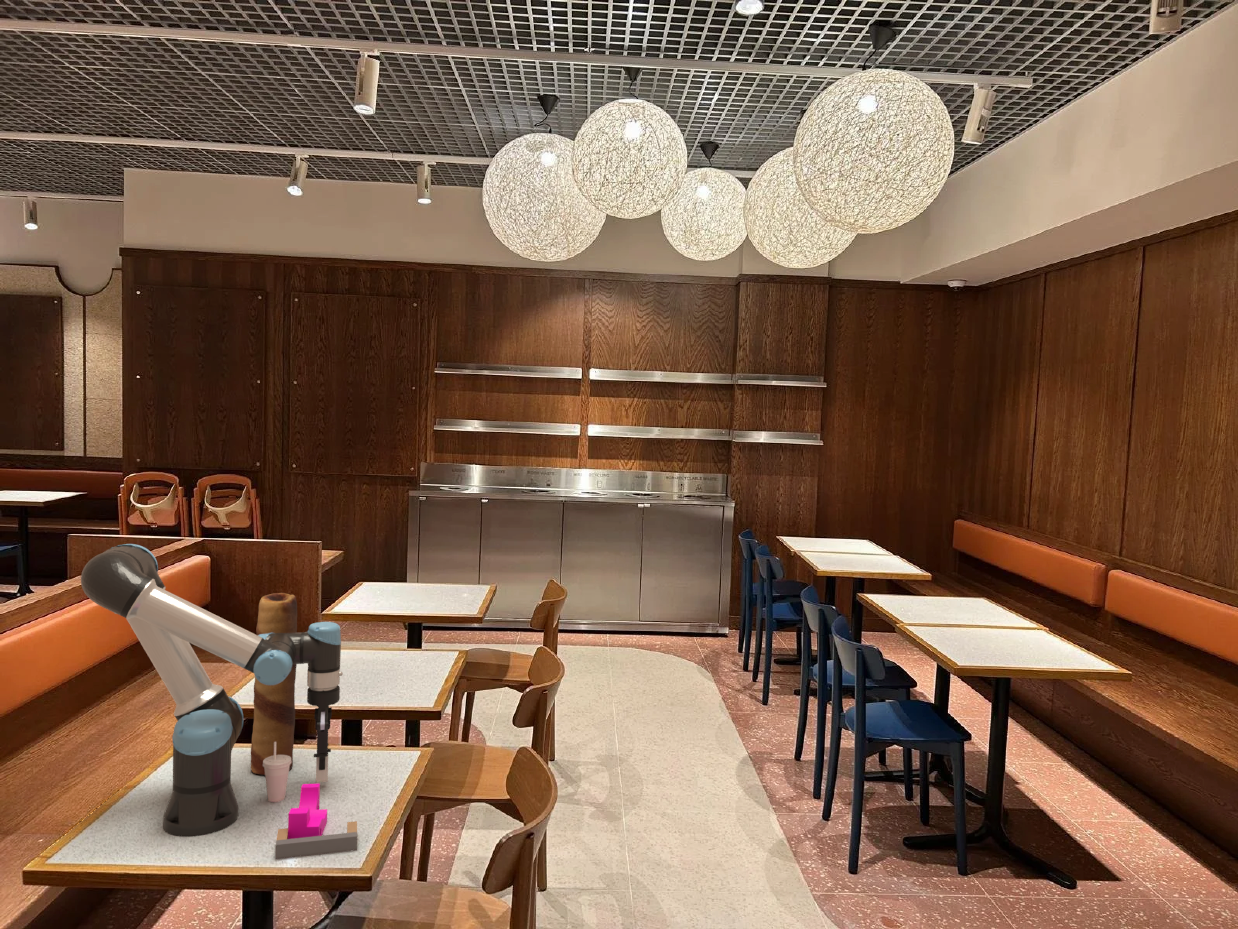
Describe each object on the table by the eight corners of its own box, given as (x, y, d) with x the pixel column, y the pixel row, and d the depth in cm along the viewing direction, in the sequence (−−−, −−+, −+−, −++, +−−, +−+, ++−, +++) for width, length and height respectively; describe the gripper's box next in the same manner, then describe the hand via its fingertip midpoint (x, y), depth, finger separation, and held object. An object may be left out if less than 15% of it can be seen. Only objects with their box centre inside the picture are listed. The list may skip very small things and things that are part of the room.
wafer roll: (302, 762, 224) (305, 593, 222) (283, 778, 214) (287, 601, 212) (263, 759, 225) (267, 591, 223) (243, 775, 215) (246, 599, 212)
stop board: (275, 861, 174) (275, 845, 174) (277, 845, 181) (278, 829, 181) (356, 852, 179) (357, 836, 179) (356, 837, 186) (356, 821, 186)
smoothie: (263, 795, 204) (264, 737, 203) (291, 792, 206) (292, 735, 205) (260, 807, 198) (261, 747, 197) (290, 804, 200) (291, 745, 199)
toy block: (318, 847, 181) (319, 813, 181) (287, 848, 180) (288, 814, 180) (330, 815, 196) (331, 783, 195) (302, 816, 195) (302, 784, 194)
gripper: (339, 693, 203) (337, 790, 204) (340, 677, 216) (338, 769, 217) (306, 695, 201) (304, 793, 202) (308, 679, 213) (306, 771, 214)
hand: (321, 780), depth 209 cm, fingers closed
